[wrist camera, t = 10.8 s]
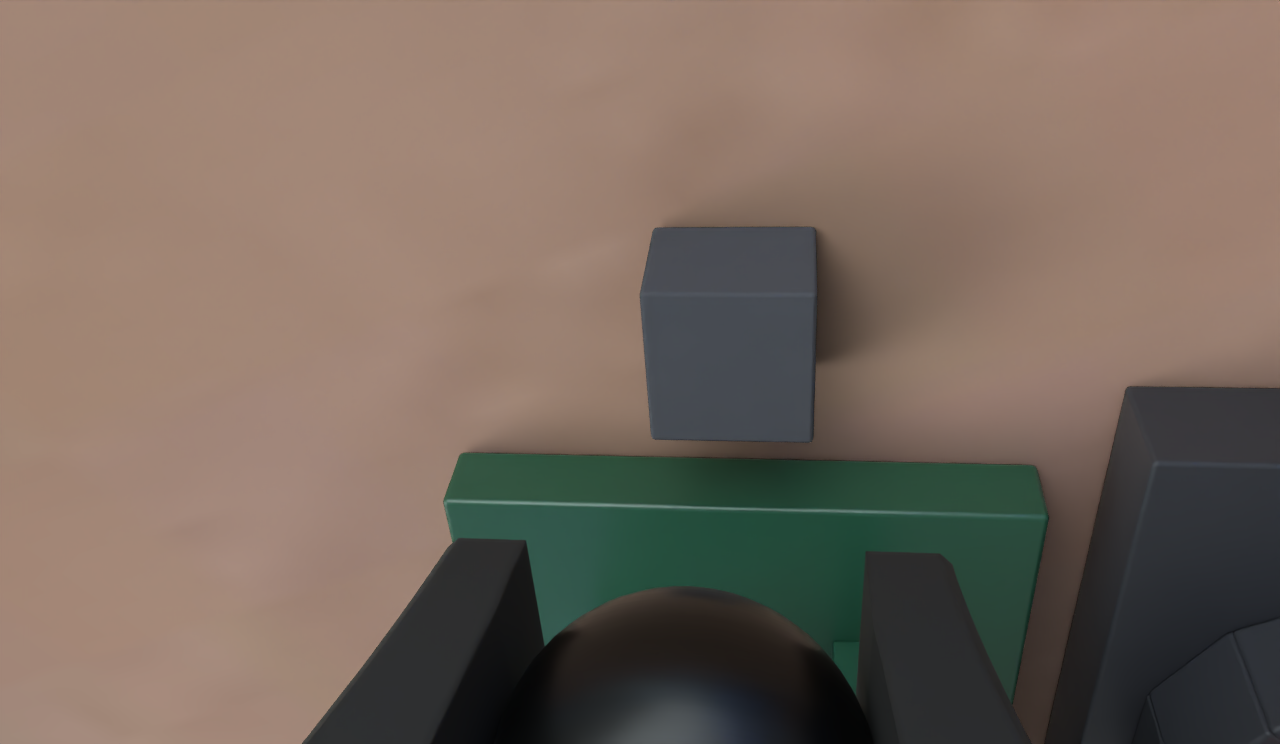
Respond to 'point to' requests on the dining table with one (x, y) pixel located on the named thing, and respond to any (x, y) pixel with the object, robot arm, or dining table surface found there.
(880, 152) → the dining table surface
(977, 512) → the rod bracket
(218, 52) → the dining table surface
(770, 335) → the block
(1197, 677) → the button box
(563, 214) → the dining table surface
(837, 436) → the dining table surface
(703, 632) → the rod
